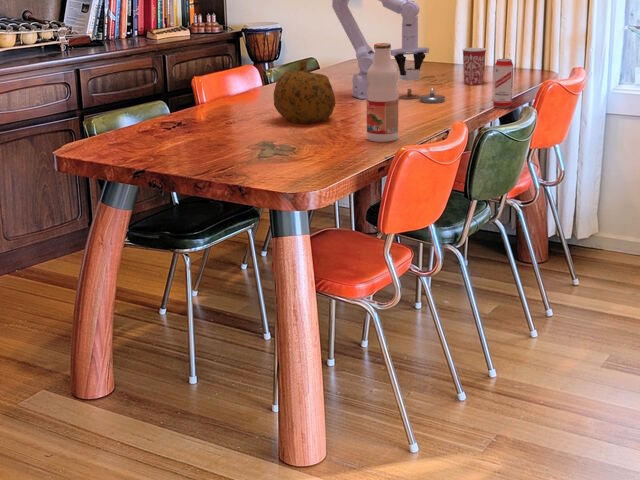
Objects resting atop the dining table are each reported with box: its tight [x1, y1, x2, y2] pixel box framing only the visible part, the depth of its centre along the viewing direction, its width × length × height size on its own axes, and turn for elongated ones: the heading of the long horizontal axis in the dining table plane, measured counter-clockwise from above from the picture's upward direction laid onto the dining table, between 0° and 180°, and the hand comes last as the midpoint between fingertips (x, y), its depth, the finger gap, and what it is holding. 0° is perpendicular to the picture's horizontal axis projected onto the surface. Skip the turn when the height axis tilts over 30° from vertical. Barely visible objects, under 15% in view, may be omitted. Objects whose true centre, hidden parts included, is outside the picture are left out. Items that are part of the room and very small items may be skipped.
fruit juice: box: [366, 42, 400, 143], centre depth 269 cm, size 9×9×28 cm
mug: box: [462, 47, 487, 86], centre depth 359 cm, size 13×9×14 cm
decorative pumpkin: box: [273, 60, 337, 125], centre depth 299 cm, size 20×21×20 cm
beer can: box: [492, 58, 514, 109], centre depth 312 cm, size 6×6×16 cm
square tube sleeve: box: [399, 67, 420, 82], centre depth 333 cm, size 5×5×4 cm
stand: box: [399, 88, 420, 100], centre depth 335 cm, size 7×7×3 cm
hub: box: [419, 87, 446, 104], centre depth 328 cm, size 9×9×4 cm
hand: (409, 74), depth 333 cm, fingers closed on square tube sleeve, 5 cm apart
